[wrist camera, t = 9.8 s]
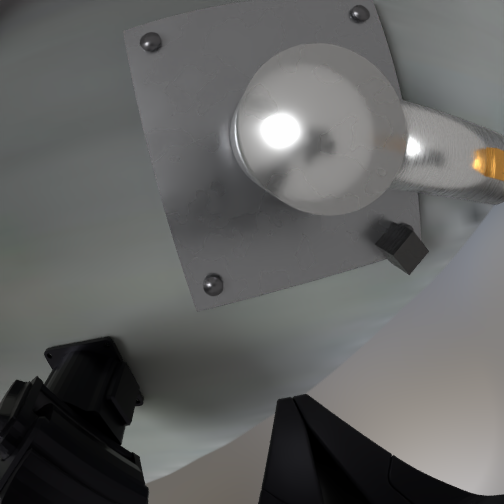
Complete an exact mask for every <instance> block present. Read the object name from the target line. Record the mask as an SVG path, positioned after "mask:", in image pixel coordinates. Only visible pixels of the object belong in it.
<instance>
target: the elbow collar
mask: <svg viewBox="0 0 504 504" xmlns="http://www.w3.org/2000/svg"><path fill="white" fill-rule="evenodd" d="M230 140H231V146H232V150H233V153H234V156H235V158H236V161H237V163H238V164H239V166H240V168H241V169H242V171H243V172H244V173H245V174H246V175H247V177H249V178H250V179H251V180H252V181H253V182H254V183H255V184H257V185H258V186H260V187H261V188H263V189H264V190H266V191H267V192H269V193H270V194H272V195H273V196H275V197H276V198H278V199H279V200H281V201H282V202H284V203H286V204H288V205H290V206H291V207H293V208H296V209H298V210H301V211H303V212H307V213H311V214H316V215H324V216H331V215H342V214H347V213H351V212H354V211H357V210H359V209H361V208H363V207H366V206H367V205H369V204H370V203H372V202H373V201H375V200H376V199H377V198H378V197H380V196H381V195H382V194H383V193H384V192H385V191H386V190H387V189H392V190H400V191H408V192H416V193H423V194H430V195H437V196H444V197H450V198H457V199H463V200H469V201H475V202H481V203H486V204H492V205H496V204H500V203H502V202H504V136H503V135H502V134H499V133H497V132H495V131H492V130H490V129H487V128H485V127H482V126H480V125H477V124H475V123H472V122H470V121H467V120H464V119H461V118H459V117H456V116H453V115H450V114H447V113H444V112H441V111H438V110H435V109H432V108H429V107H425V106H422V105H419V104H415V103H412V102H408V101H405V100H401V99H399V98H398V96H397V94H396V92H395V90H394V88H393V87H392V85H391V84H390V82H389V81H388V79H387V78H386V77H385V76H384V75H383V73H382V72H381V71H380V70H379V69H378V68H377V67H376V66H375V65H374V64H372V63H371V62H370V61H368V60H367V59H366V58H364V57H363V56H361V55H359V54H357V53H356V52H353V51H351V50H349V49H346V48H344V47H340V46H336V45H332V44H324V43H310V44H302V45H298V46H294V47H291V48H288V49H286V50H284V51H282V52H280V53H278V54H276V55H275V56H273V57H272V58H270V59H269V60H268V61H267V62H266V63H264V64H263V65H262V66H261V67H260V69H259V70H258V71H257V72H256V73H255V75H254V76H253V78H252V79H251V81H250V83H249V84H248V86H247V88H246V90H245V92H244V94H243V96H242V98H241V100H240V101H239V103H238V105H237V107H236V110H235V112H234V114H233V118H232V122H231V129H230Z"/></svg>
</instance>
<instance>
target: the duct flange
mask: <svg viewBox="0 0 504 504" xmlns="http://www.w3.org/2000/svg"><path fill="white" fill-rule="evenodd" d="M123 33H124V39H125V45H126V50H127V55H128V61H129V66H130V71H131V76H132V81H133V85H134V90H135V95H136V99H137V104H138V108H139V113H140V117H141V121H142V126H143V130H144V134H145V138H146V142H147V146H148V150H149V154H150V158H151V162H152V166H153V169H154V173H155V177H156V181H157V184H158V188H159V192H160V195H161V199H162V202H163V206H164V209H165V213H166V216H167V220H168V223H169V226H170V230H171V233H172V236H173V240H174V243H175V246H176V249H177V253H178V256H179V259H180V262H181V265H182V268H183V271H184V274H185V278H186V281H187V284H188V287H189V290H190V293H191V296H192V298H193V301H194V304H195V307H196V310H197V311H201V310H205V309H209V308H213V307H217V306H221V305H225V304H229V303H233V302H237V301H241V300H244V299H248V298H252V297H256V296H260V295H263V294H267V293H271V292H274V291H278V290H282V289H285V288H289V287H293V286H296V285H300V284H303V283H307V282H310V281H314V280H317V279H321V278H324V277H328V276H331V275H334V274H338V273H341V272H345V271H348V270H351V269H355V268H358V267H361V266H365V265H368V264H371V263H374V262H378V261H381V260H384V259H388V260H389V261H390V262H391V263H392V264H394V265H395V266H397V267H398V268H400V269H401V270H403V271H404V272H406V273H407V274H408V275H410V274H411V272H412V271H413V270H414V269H415V268H416V267H417V265H418V264H419V263H420V262H421V260H422V259H423V258H424V257H425V256H426V254H427V253H428V252H429V251H428V249H427V248H426V247H425V245H424V244H423V243H422V241H421V225H420V212H419V201H418V193H416V192H408V191H400V190H392V189H387V190H386V191H385V192H384V193H383V194H382V195H381V196H380V197H378V198H377V199H376V200H375V201H373V202H372V203H370V204H369V205H367V206H366V207H363V208H361V209H359V210H357V211H354V212H351V213H347V214H342V215H331V216H324V215H316V214H311V213H307V212H303V211H301V210H298V209H296V208H293V207H291V206H290V205H288V204H286V203H284V202H282V201H281V200H279V199H278V198H276V197H275V196H273V195H272V194H270V193H269V192H267V191H266V190H264V189H263V188H261V187H260V186H258V185H257V184H255V183H254V182H253V181H252V180H251V179H250V178H249V177H247V175H246V174H245V173H244V172H243V171H242V169H241V168H240V166H239V164H238V163H237V161H236V158H235V156H234V153H233V150H232V146H231V140H230V129H231V122H232V118H233V114H234V112H235V110H236V107H237V105H238V103H239V101H240V100H241V98H242V96H243V94H244V92H245V90H246V88H247V86H248V84H249V83H250V81H251V79H252V78H253V76H254V75H255V73H256V72H257V71H258V70H259V69H260V67H261V66H262V65H263V64H264V63H266V62H267V61H268V60H269V59H270V58H272V57H273V56H275V55H276V54H278V53H280V52H282V51H284V50H286V49H288V48H291V47H294V46H298V45H302V44H310V43H324V44H332V45H336V46H340V47H344V48H346V49H349V50H351V51H353V52H356V53H357V54H359V55H361V56H363V57H364V58H366V59H367V60H368V61H370V62H371V63H372V64H374V65H375V66H376V67H377V68H378V69H379V70H380V71H381V72H382V73H383V75H384V76H385V77H386V78H387V79H388V81H389V82H390V84H391V85H392V87H393V88H394V90H395V92H396V94H397V96H398V98H399V99H401V100H402V96H401V91H400V87H399V83H398V79H397V75H396V71H395V68H394V64H393V60H392V57H391V53H390V50H389V47H388V43H387V40H386V37H385V34H384V31H383V28H382V25H381V22H380V19H379V16H378V13H377V11H376V8H375V5H374V3H373V0H252V1H244V2H238V3H231V4H225V5H219V6H214V7H209V8H204V9H199V10H195V11H190V12H186V13H182V14H178V15H174V16H170V17H166V18H163V19H159V20H156V21H152V22H149V23H146V24H142V25H139V26H136V27H133V28H130V29H127V30H124V31H123Z"/></svg>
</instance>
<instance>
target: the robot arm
mask: <svg viewBox="0 0 504 504" xmlns="http://www.w3.org/2000/svg"><path fill="white" fill-rule="evenodd" d="M105 343H108V344H109V345H110V346H107V345H106V344H105ZM50 354H51V355H52V356H51V355H50ZM44 355H45V358H46V359H47V361H48V363H49V365H50V366H51V368H52V372H51V373H50V375H49V377H48V378H47V380H46V382H45V384H43V381H42V380H41V379H40V378H39V377H38V376H36V377H35V378H34V379H33V380H32V381H31V382H30V381H29V382H28V383H27V382H23V381H19V380H16V381H15V382H14V383H13V384H12V385H11V387H10V388H9V390H8V391H7V393H6V395H5V396H4V398H3V399H2V401H1V403H0V504H148V496H149V489H148V487H147V486H145V481H144V477H143V472H142V467H141V462H140V457H139V456H138V455H136V454H135V453H133V452H132V453H131V452H129V451H128V450H126V449H125V448H123V447H122V446H120V445H121V444H122V439H123V435H124V431H125V426H127V425H130V424H131V422H132V417H133V413H134V409H135V406H141V405H142V404H143V401H144V398H143V396H142V394H141V392H140V391H139V385H138V384H137V382H136V380H135V378H134V376H133V374H132V373H131V371H130V369H129V367H128V365H127V363H125V362H124V361H123V359H122V357H121V355H120V353H119V351H118V349H117V347H116V345H115V343H114V341H113V340H112V339H111V338H108V337H104V338H99V339H94V340H89V341H84V342H78V343H73V344H68V345H63V346H57V347H52V348H48V349H46V351H45V353H44ZM137 399H138V400H137ZM258 504H504V495H494V496H484V495H477V494H473V493H470V492H467V491H464V490H461V489H459V488H457V487H454V486H452V485H449V484H447V483H445V482H442V481H440V480H438V479H435V478H433V477H431V476H429V475H427V474H425V473H423V472H421V471H419V470H417V469H415V468H413V467H412V466H410V465H408V464H407V463H405V462H403V461H402V460H400V459H398V458H397V457H396V456H394V455H393V456H392V454H391V453H389V452H388V451H386V450H385V449H383V448H382V447H380V446H378V445H377V444H376V443H374V442H373V441H371V440H370V439H369V438H367V437H366V436H364V435H363V434H361V433H360V432H358V431H357V430H356V429H354V428H353V427H351V426H350V425H348V424H347V423H346V422H344V421H343V420H341V419H340V418H339V417H337V416H336V415H335V414H333V413H332V412H330V411H329V410H328V409H326V408H325V407H323V406H322V405H321V404H319V403H318V402H317V401H316V400H314V399H313V398H311V397H310V396H309V395H307V394H303V395H298V396H294V397H293V398H291V397H287V398H282V399H278V401H277V406H276V412H275V418H274V424H273V429H272V435H271V441H270V446H269V452H268V457H267V462H266V468H265V473H264V478H263V483H262V490H261V493H260V497H259V502H258Z"/></svg>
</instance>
